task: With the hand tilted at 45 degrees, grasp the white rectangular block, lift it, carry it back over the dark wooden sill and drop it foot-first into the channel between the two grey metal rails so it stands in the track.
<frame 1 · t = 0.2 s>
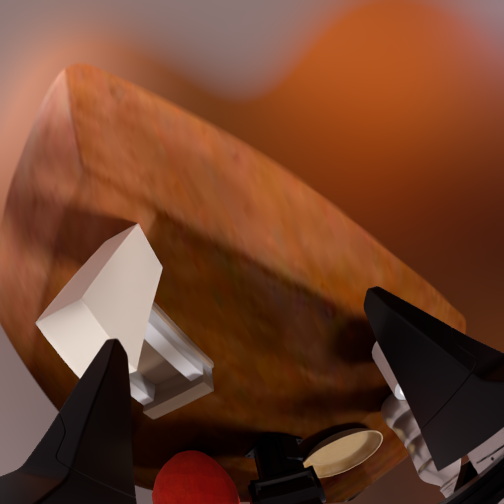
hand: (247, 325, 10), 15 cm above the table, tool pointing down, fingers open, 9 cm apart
plastic bottle: (393, 397, 37), on the table
apple: (191, 456, 35), on the table
plant saucer: (337, 445, 40), on the table
sill track: (150, 351, 27), on the table
white rectangular block: (133, 254, 24), on the table
white cup: (389, 343, 33), on the table
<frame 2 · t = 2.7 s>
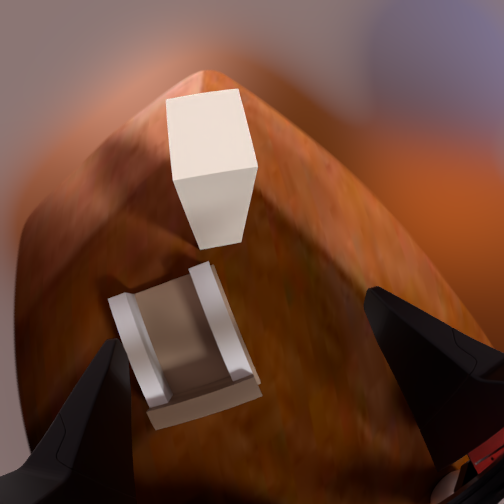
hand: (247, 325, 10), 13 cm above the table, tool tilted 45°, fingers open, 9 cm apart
plastic bottle: (443, 485, 20), on the table
sill track: (186, 343, 22), on the table
white rectangular block: (215, 220, 24), on the table
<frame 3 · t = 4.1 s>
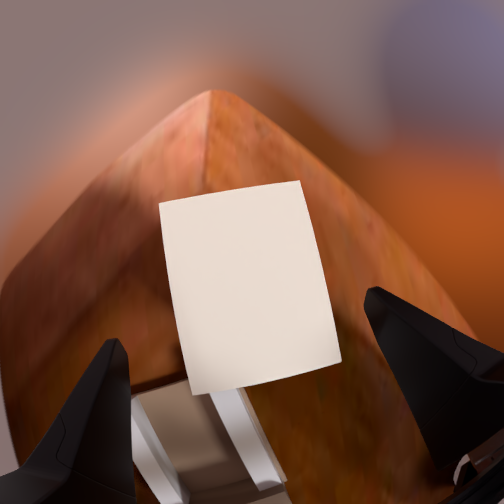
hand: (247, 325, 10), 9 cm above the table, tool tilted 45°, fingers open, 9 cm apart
sill track: (202, 444, 17), on the table
white rectangular block: (233, 304, 19), on the table
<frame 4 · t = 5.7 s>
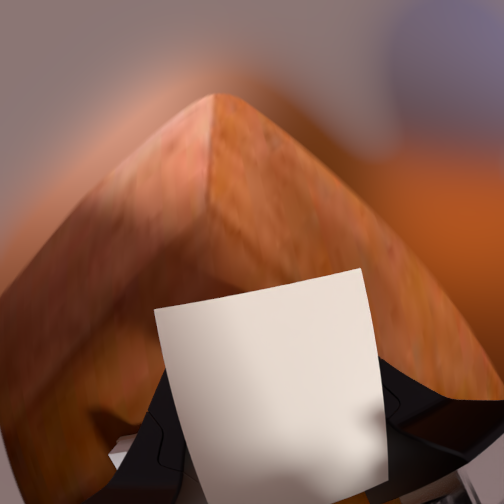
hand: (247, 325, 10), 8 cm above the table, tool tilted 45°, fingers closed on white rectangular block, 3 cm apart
sill track: (210, 482, 15), on the table
white rectangular block: (242, 342, 17), on the table, touching gripper
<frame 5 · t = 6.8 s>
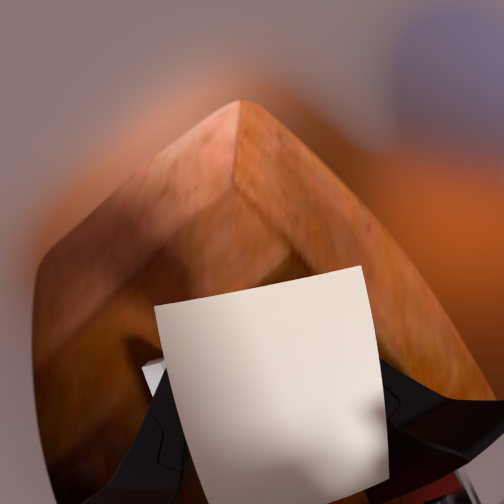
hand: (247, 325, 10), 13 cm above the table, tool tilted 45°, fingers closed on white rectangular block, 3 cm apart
sill track: (218, 403, 21), on the table
white rectangular block: (242, 341, 17), point 6 cm above the table, touching gripper
when the fingers open (11 cm above the table, at t = 8.1 s): white rectangular block drops 2 cm, resting on sill track.
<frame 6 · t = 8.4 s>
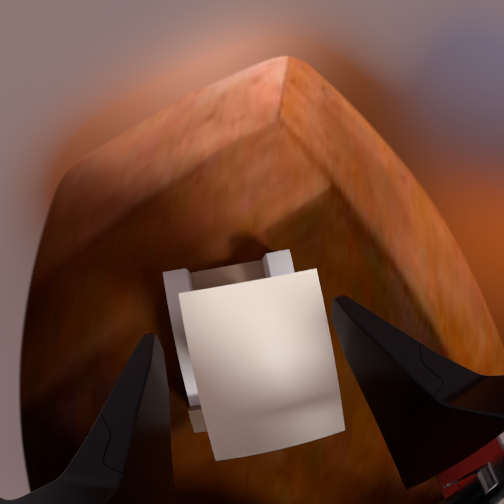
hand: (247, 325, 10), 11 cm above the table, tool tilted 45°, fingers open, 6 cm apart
sill track: (239, 337, 20), on the table
white rectangular block: (240, 336, 19), point 1 cm above the table, touching sill track
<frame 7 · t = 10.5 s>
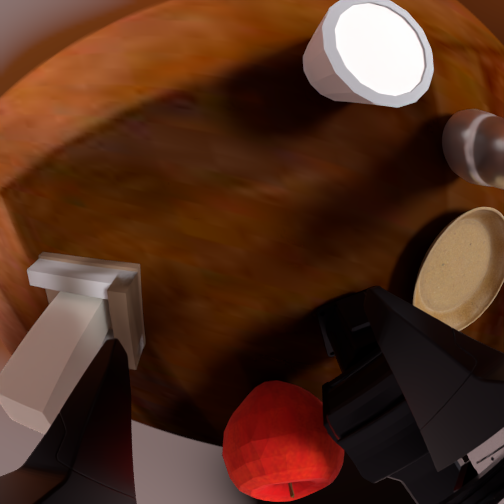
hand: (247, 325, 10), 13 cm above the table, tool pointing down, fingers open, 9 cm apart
plastic bottle: (456, 142, 20), on the table
apple: (274, 391, 30), on the table
plant saucer: (455, 265, 26), on the table
sill track: (92, 299, 24), on the table
white rectangular block: (88, 304, 23), point 1 cm above the table, touching sill track
white cup: (338, 67, 17), on the table
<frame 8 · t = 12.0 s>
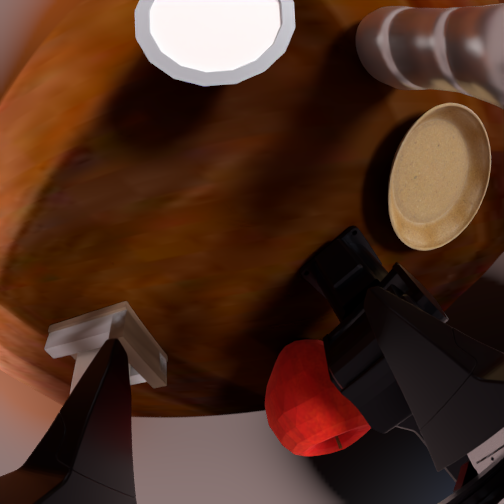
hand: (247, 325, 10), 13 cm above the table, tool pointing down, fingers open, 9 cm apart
plastic bottle: (379, 48, 16), on the table
apple: (300, 348, 33), on the table
plant saucer: (430, 171, 24), on the table
sill track: (107, 342, 26), on the table
white rectangular block: (105, 348, 26), point 1 cm above the table, touching sill track
white cup: (206, 38, 15), on the table
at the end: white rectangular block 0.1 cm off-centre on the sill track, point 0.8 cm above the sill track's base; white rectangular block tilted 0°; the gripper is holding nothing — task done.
